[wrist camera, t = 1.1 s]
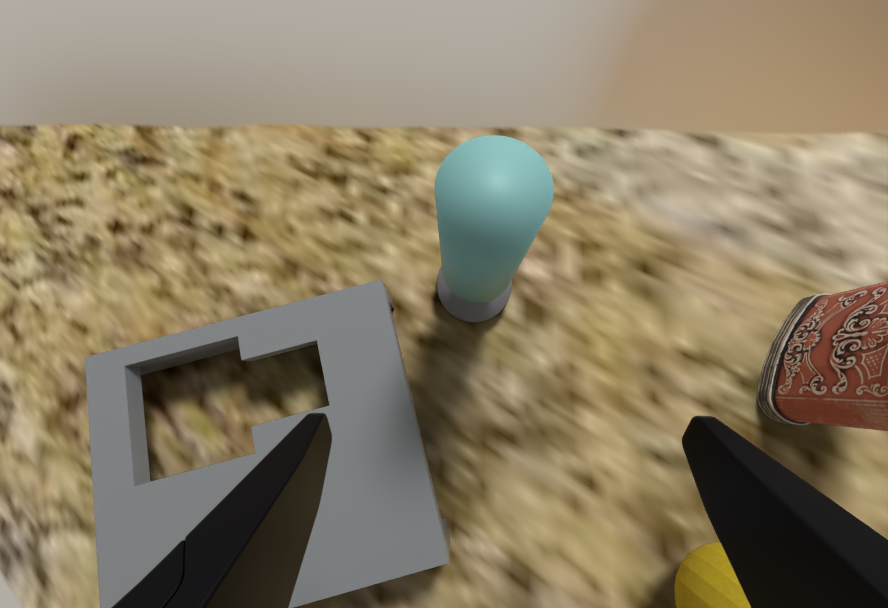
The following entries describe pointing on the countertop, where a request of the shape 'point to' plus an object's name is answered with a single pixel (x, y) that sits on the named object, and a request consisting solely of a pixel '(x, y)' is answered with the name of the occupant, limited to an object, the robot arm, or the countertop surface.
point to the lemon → (708, 580)
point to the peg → (487, 221)
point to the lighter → (830, 362)
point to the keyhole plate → (350, 461)
